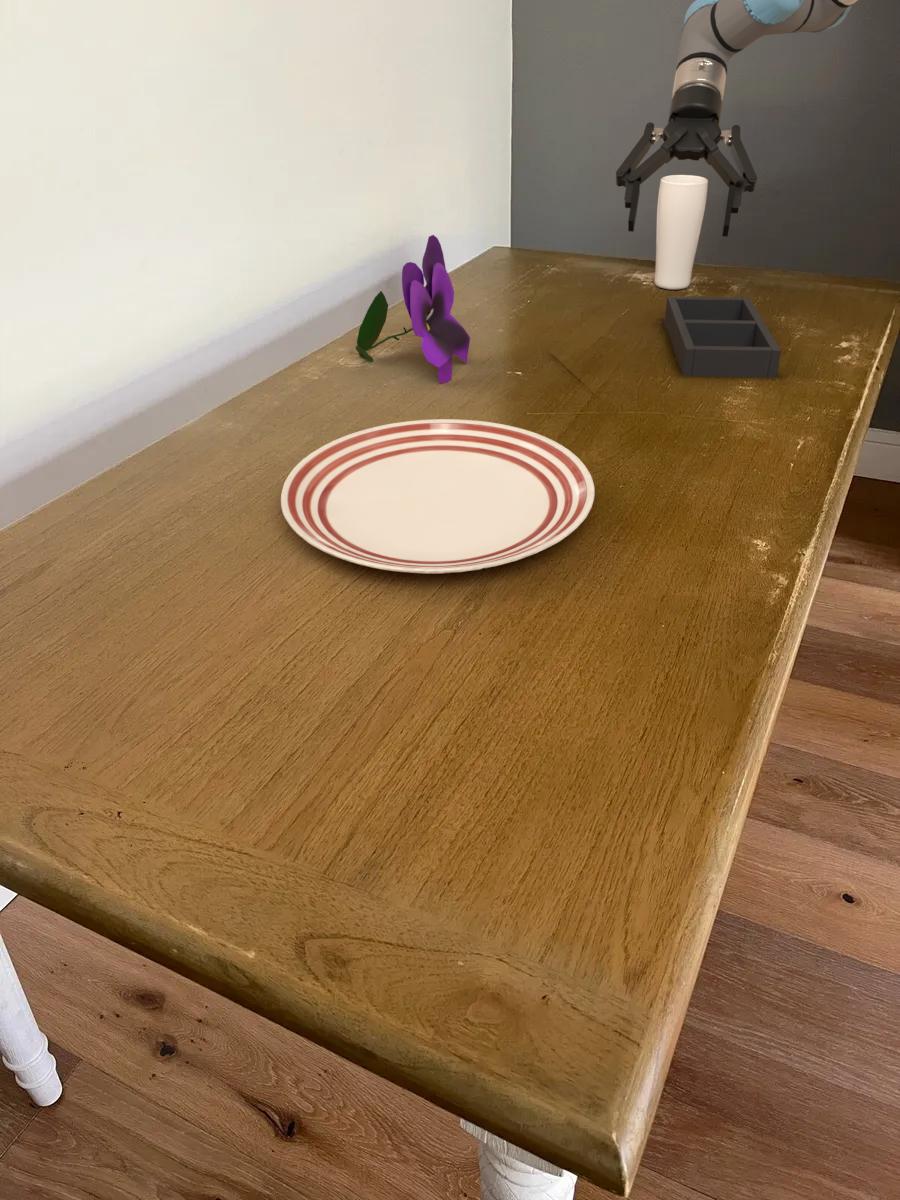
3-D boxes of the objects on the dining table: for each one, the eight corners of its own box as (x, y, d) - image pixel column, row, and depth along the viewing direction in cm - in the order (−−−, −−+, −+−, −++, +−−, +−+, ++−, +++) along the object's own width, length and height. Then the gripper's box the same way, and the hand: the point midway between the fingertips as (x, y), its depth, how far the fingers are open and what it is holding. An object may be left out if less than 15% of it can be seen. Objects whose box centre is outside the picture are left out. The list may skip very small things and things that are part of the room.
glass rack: (743, 332, 126) (749, 297, 124) (773, 389, 110) (781, 350, 107) (663, 331, 127) (667, 296, 124) (681, 387, 110) (686, 348, 108)
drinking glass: (644, 289, 143) (655, 181, 134) (654, 277, 148) (665, 173, 140) (690, 294, 141) (704, 185, 132) (698, 282, 146) (712, 176, 137)
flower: (362, 425, 115) (456, 385, 108) (299, 309, 109) (393, 260, 102) (406, 382, 126) (493, 344, 119) (350, 275, 121) (438, 229, 114)
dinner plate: (544, 627, 71) (546, 589, 69) (224, 563, 79) (218, 528, 77) (621, 471, 92) (624, 439, 91) (363, 433, 100) (361, 403, 99)
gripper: (612, 80, 142) (591, 209, 139) (787, 84, 137) (770, 217, 133) (613, 115, 150) (593, 238, 146) (779, 120, 144) (763, 247, 140)
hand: (677, 228), depth 140 cm, fingers open, 13 cm apart
